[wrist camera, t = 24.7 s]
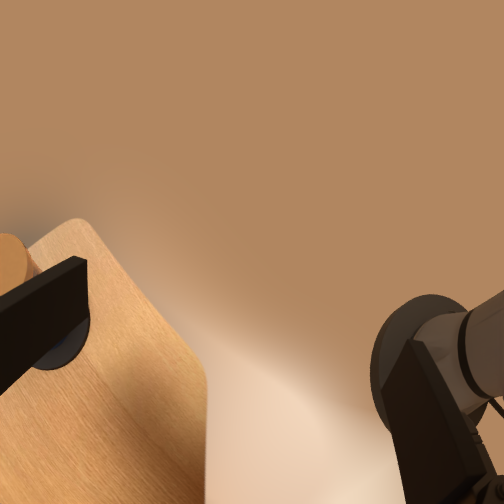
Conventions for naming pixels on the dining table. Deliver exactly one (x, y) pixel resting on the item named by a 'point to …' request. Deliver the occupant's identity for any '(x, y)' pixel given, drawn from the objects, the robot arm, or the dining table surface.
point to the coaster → (65, 348)
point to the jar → (16, 265)
